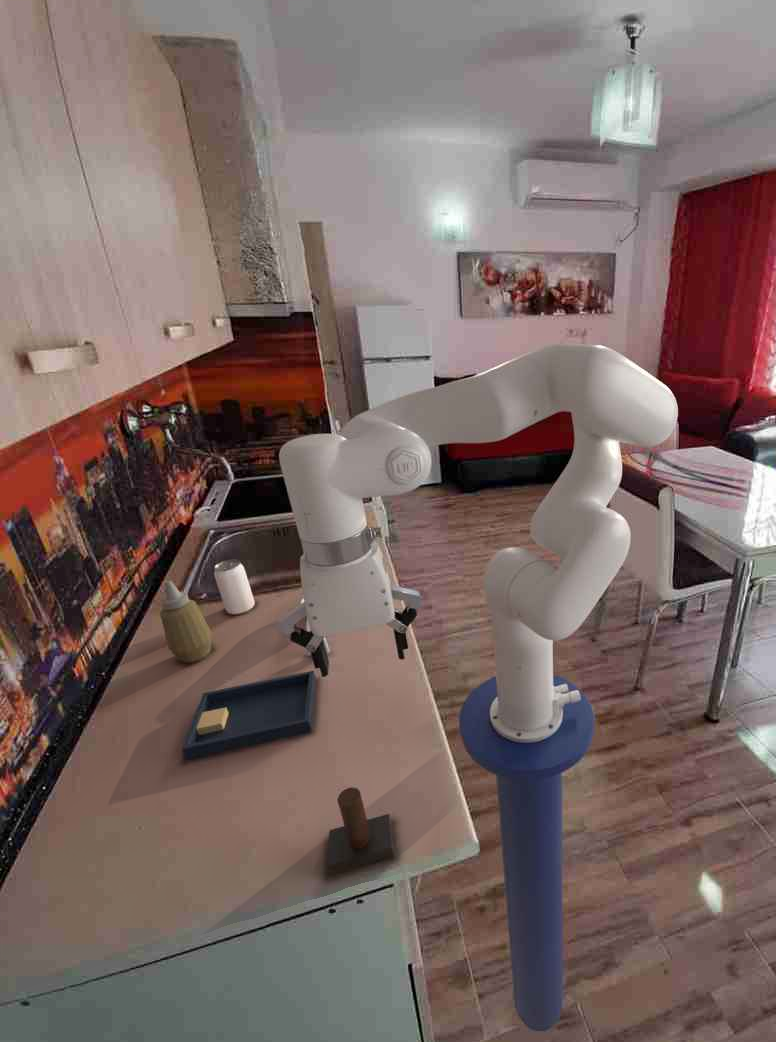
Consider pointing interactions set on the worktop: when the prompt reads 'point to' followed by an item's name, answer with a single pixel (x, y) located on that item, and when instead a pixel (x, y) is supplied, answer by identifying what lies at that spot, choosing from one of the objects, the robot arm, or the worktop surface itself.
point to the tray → (255, 714)
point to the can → (234, 587)
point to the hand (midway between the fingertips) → (364, 661)
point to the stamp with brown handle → (358, 836)
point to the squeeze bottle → (184, 626)
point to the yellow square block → (212, 721)
